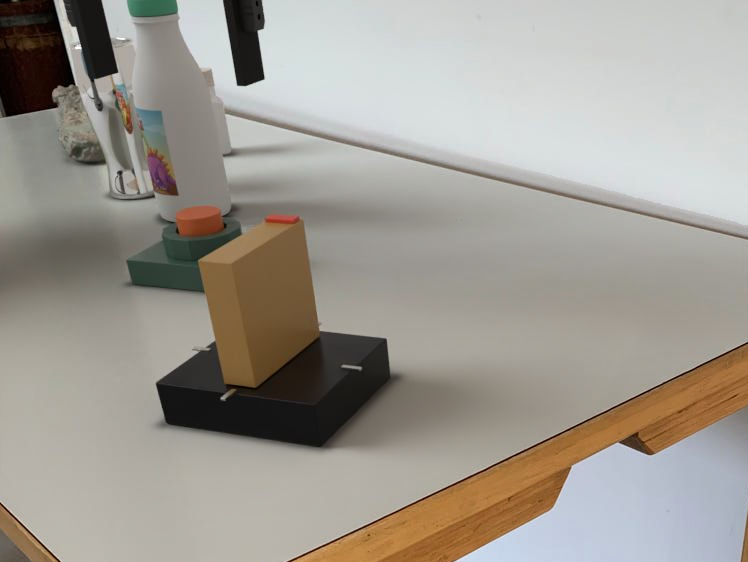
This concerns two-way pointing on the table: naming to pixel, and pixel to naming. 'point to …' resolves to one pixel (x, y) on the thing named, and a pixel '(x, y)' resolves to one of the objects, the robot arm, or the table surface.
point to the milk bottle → (175, 114)
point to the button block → (179, 257)
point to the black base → (280, 391)
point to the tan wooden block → (261, 299)
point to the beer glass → (116, 121)
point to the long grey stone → (76, 126)
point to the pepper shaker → (218, 112)
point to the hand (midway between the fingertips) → (175, 79)
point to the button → (199, 221)
